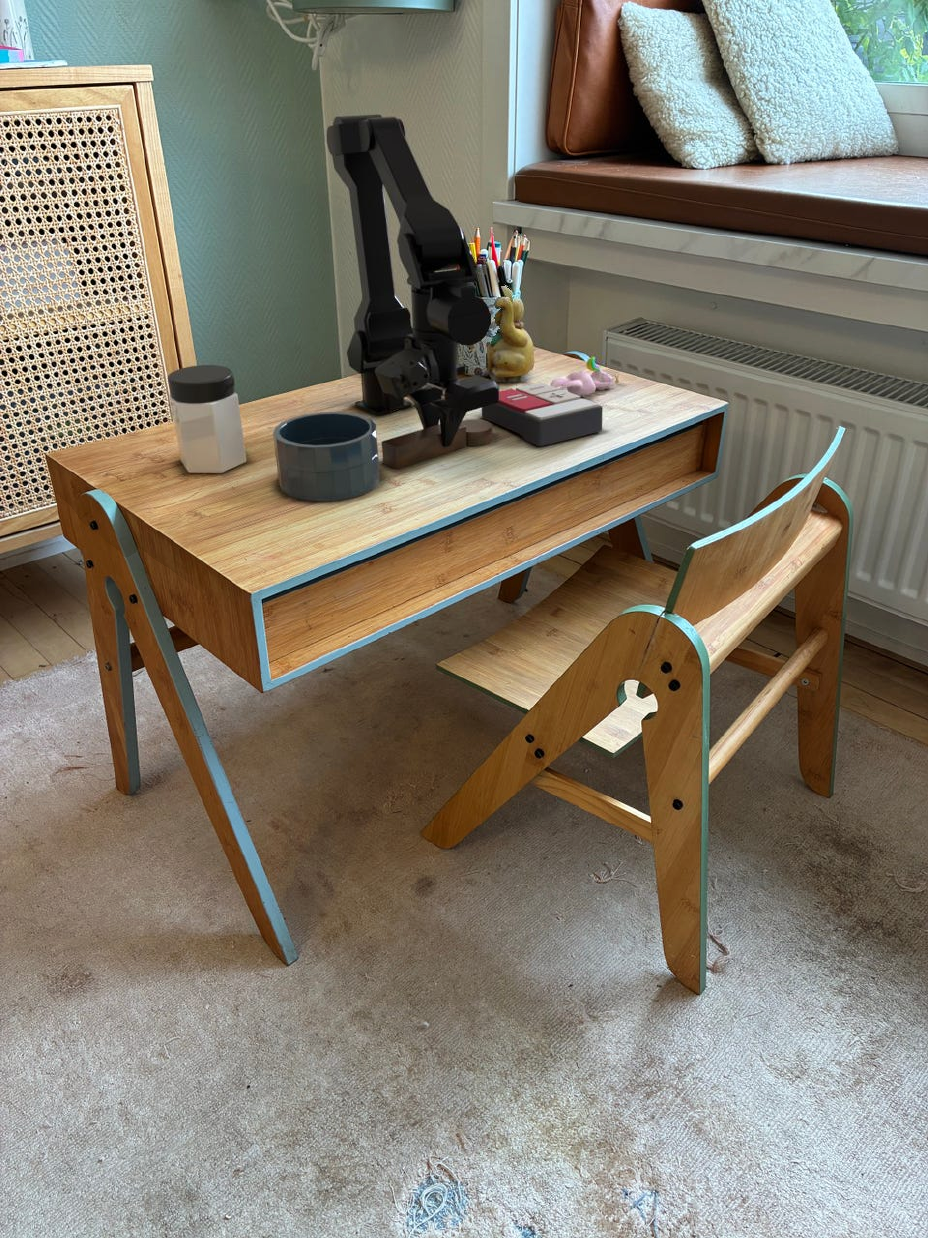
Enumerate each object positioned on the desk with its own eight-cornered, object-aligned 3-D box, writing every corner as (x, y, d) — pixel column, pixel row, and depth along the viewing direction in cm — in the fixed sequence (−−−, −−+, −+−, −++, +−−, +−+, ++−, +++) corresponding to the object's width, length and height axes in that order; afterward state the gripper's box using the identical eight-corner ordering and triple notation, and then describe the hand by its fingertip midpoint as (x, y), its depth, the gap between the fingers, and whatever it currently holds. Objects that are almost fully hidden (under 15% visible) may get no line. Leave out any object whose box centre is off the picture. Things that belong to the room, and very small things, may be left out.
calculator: (541, 379, 147) (604, 400, 136) (542, 407, 149) (603, 431, 138) (479, 392, 142) (538, 415, 131) (480, 421, 145) (539, 447, 133)
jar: (253, 467, 129) (240, 378, 123) (191, 479, 126) (175, 388, 120) (235, 446, 136) (223, 360, 130) (176, 456, 133) (160, 369, 127)
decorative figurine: (477, 370, 164) (476, 277, 156) (525, 366, 166) (526, 273, 158) (492, 387, 156) (492, 290, 148) (542, 383, 158) (544, 286, 150)
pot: (261, 479, 126) (254, 427, 122) (343, 455, 132) (339, 404, 129) (314, 510, 117) (308, 455, 114) (399, 482, 124) (396, 429, 120)
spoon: (401, 471, 127) (399, 449, 125) (377, 460, 130) (376, 439, 129) (500, 439, 136) (500, 418, 135) (475, 430, 140) (475, 409, 138)
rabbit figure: (593, 388, 159) (536, 396, 148) (598, 350, 157) (541, 356, 146) (625, 396, 155) (569, 405, 145) (631, 357, 153) (575, 364, 142)
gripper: (341, 324, 127) (350, 439, 135) (430, 353, 114) (435, 478, 122) (410, 309, 133) (415, 420, 141) (502, 336, 120) (502, 456, 128)
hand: (439, 442), depth 133 cm, fingers closed on spoon, 3 cm apart
